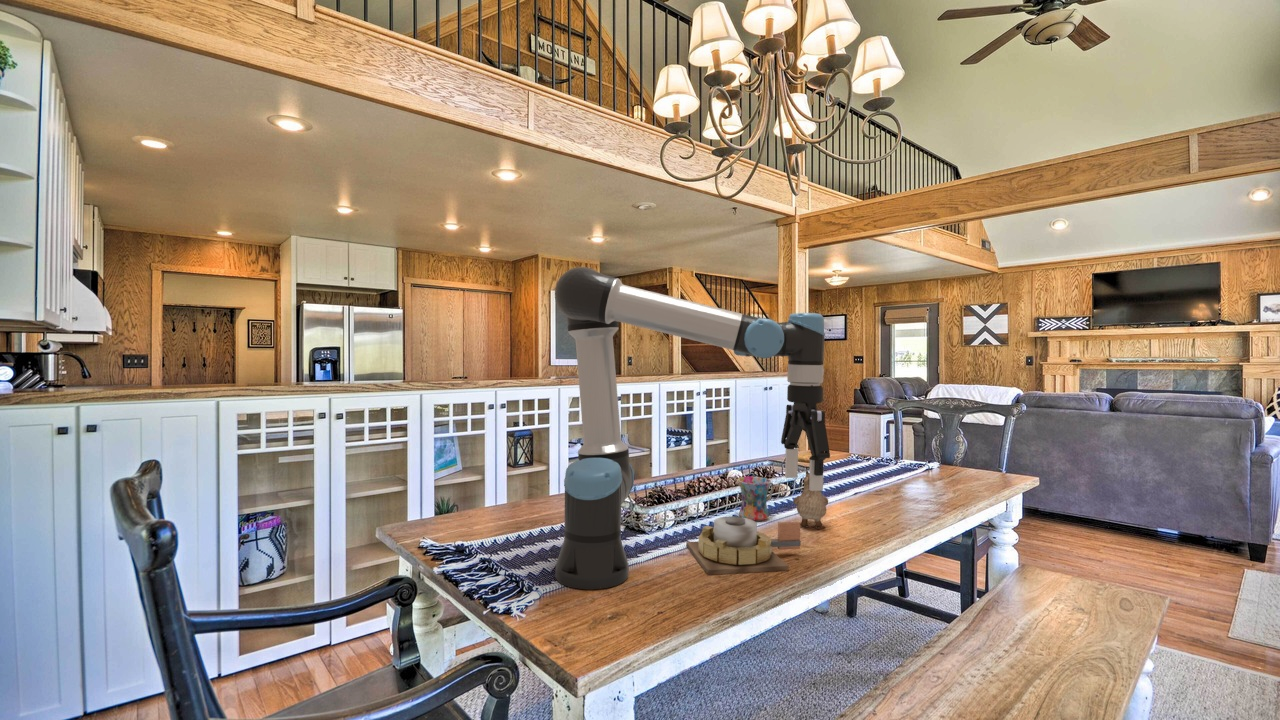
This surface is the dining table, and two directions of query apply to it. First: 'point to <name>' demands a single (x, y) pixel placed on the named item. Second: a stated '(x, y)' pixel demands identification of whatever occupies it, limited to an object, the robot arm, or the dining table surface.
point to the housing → (736, 535)
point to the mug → (754, 497)
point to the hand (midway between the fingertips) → (803, 483)
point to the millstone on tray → (749, 555)
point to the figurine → (811, 505)
